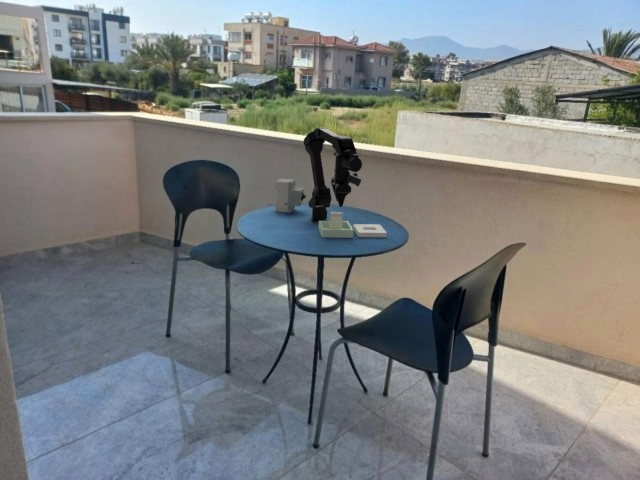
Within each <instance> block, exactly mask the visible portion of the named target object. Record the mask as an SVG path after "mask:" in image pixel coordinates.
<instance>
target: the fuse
mask: <svg viewBox="0 0 640 480" xmlns="http://www.w3.org/2000/svg"><path fill="white" fill-rule="evenodd" d="M343 215H344V213H343V212H342V211H329V219H328V221H329V229H342V221H343Z"/></svg>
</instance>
